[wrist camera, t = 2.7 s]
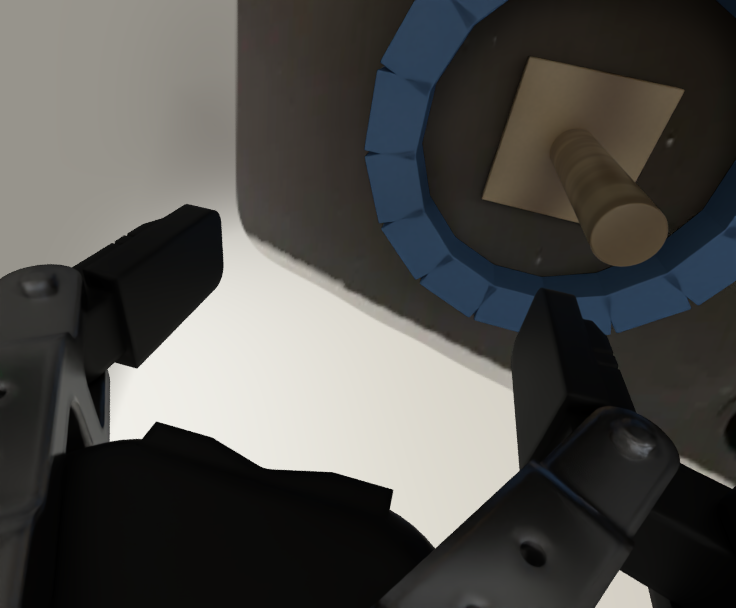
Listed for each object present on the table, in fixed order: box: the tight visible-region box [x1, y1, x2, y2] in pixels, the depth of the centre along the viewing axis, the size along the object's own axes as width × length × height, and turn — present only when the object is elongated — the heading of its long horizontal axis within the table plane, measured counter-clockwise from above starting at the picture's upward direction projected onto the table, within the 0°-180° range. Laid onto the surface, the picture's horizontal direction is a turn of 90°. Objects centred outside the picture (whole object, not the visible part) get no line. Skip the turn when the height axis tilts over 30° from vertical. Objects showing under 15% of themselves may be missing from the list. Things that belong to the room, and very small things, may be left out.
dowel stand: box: [482, 56, 685, 267], centre depth 20 cm, size 8×8×13 cm
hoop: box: [364, 0, 736, 335], centre depth 24 cm, size 23×23×3 cm
